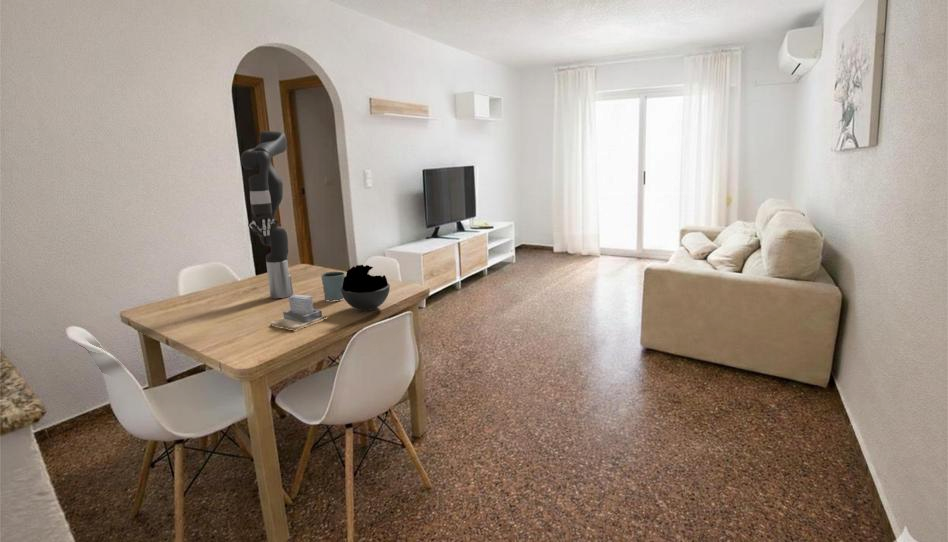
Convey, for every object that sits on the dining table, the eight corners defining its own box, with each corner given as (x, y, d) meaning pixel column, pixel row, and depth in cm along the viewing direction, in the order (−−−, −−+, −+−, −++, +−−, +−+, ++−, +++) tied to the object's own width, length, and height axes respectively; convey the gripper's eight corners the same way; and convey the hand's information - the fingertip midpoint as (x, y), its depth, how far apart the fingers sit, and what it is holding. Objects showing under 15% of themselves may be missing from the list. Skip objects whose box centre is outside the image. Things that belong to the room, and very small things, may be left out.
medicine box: (314, 316, 197) (312, 295, 195) (306, 320, 193) (304, 298, 191) (298, 314, 200) (296, 294, 198) (291, 318, 196) (288, 297, 194)
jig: (303, 314, 205) (302, 305, 204) (327, 319, 198) (326, 309, 197) (270, 325, 192) (269, 316, 191) (295, 331, 185) (294, 321, 184)
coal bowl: (368, 300, 223) (365, 259, 219) (400, 306, 212) (398, 264, 208) (332, 311, 207) (328, 268, 203) (365, 320, 196) (362, 274, 192)
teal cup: (319, 301, 223) (316, 275, 220) (333, 295, 232) (330, 270, 229) (337, 303, 219) (335, 277, 216) (351, 297, 228) (349, 272, 225)
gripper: (268, 200, 205) (273, 241, 209) (240, 203, 194) (245, 247, 198) (280, 200, 201) (285, 242, 205) (252, 204, 190) (257, 248, 194)
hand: (266, 244), depth 201 cm, fingers closed
